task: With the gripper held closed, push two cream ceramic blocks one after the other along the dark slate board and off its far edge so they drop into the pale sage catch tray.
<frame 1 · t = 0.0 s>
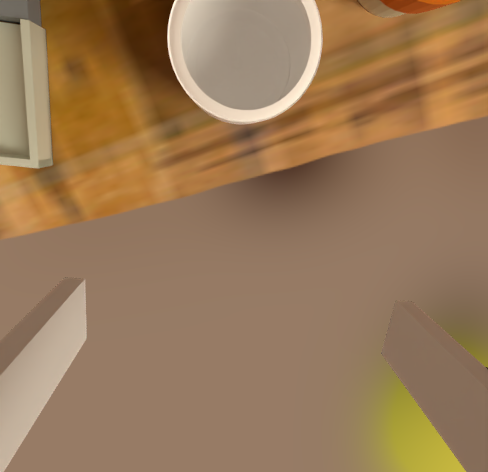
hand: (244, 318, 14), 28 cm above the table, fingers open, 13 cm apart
jar: (235, 75, 37), on the table
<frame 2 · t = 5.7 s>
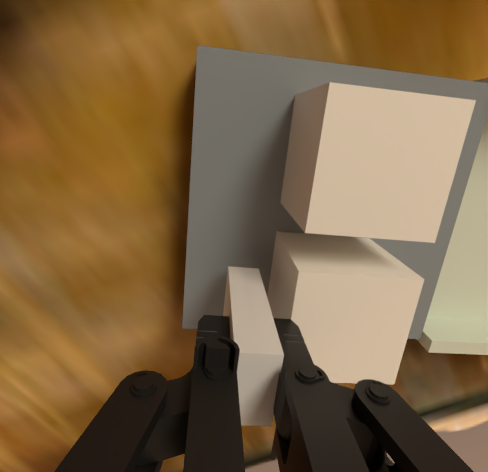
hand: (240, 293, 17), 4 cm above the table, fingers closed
block b: (337, 156, 16), point 2 cm above the table, touching board
block a: (315, 278, 18), point 3 cm above the table, touching board, gripper
board: (313, 205, 20), on the table
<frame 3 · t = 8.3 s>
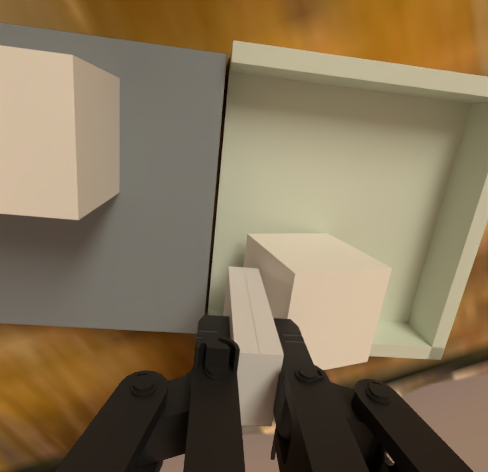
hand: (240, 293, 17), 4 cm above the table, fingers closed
block b: (61, 131, 15), point 2 cm above the table, touching board
block a: (282, 275, 19), point 1 cm above the table, tilted 17°, touching gripper, tray
board: (84, 188, 18), on the table
tray: (333, 212, 20), on the table
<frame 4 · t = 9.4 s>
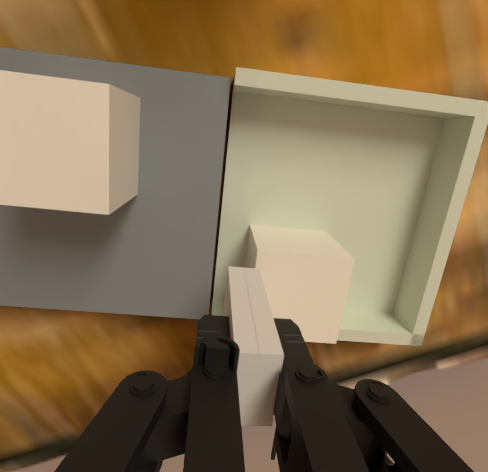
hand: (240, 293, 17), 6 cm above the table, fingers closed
block b: (90, 142, 18), point 2 cm above the table, touching board
block a: (282, 264, 23), point 1 cm above the table, touching tray
board: (106, 191, 21), on the table
tray: (325, 213, 22), on the table
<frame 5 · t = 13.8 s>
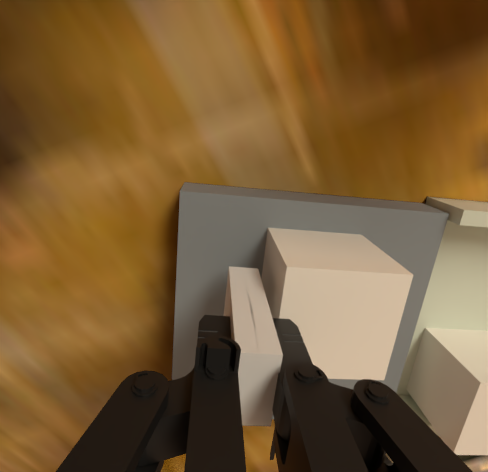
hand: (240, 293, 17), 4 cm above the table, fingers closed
block b: (307, 275, 18), point 2 cm above the table, touching board
block a: (449, 360, 23), point 1 cm above the table, touching tray
board: (290, 301, 22), on the table
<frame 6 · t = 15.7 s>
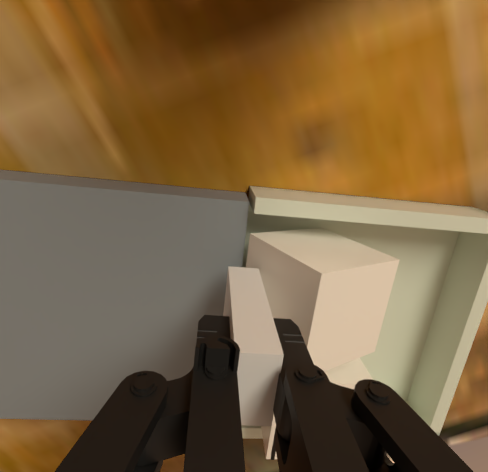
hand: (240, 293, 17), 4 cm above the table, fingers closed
block b: (281, 273, 19), point 2 cm above the table, tilted 28°, touching gripper
block a: (297, 359, 22), point 1 cm above the table, touching tray
board: (118, 295, 21), on the table
tray: (340, 308, 22), on the table
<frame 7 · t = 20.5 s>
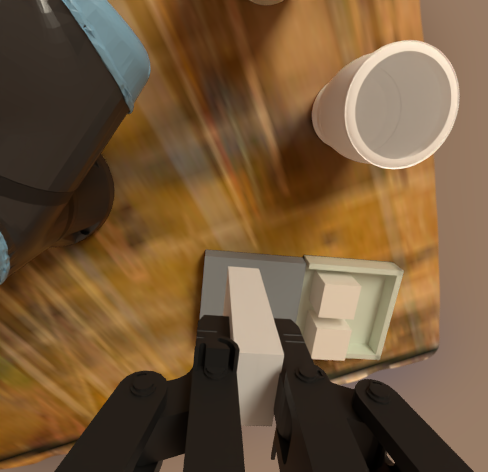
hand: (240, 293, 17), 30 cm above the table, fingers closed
block b: (328, 285, 50), point 1 cm above the table, touching tray
block a: (320, 325, 52), point 1 cm above the table, touching tray
board: (248, 297, 51), on the table
jar: (342, 113, 44), on the table
tray: (339, 303, 52), on the table
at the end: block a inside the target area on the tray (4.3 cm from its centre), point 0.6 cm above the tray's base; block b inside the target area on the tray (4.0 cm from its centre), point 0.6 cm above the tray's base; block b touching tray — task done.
